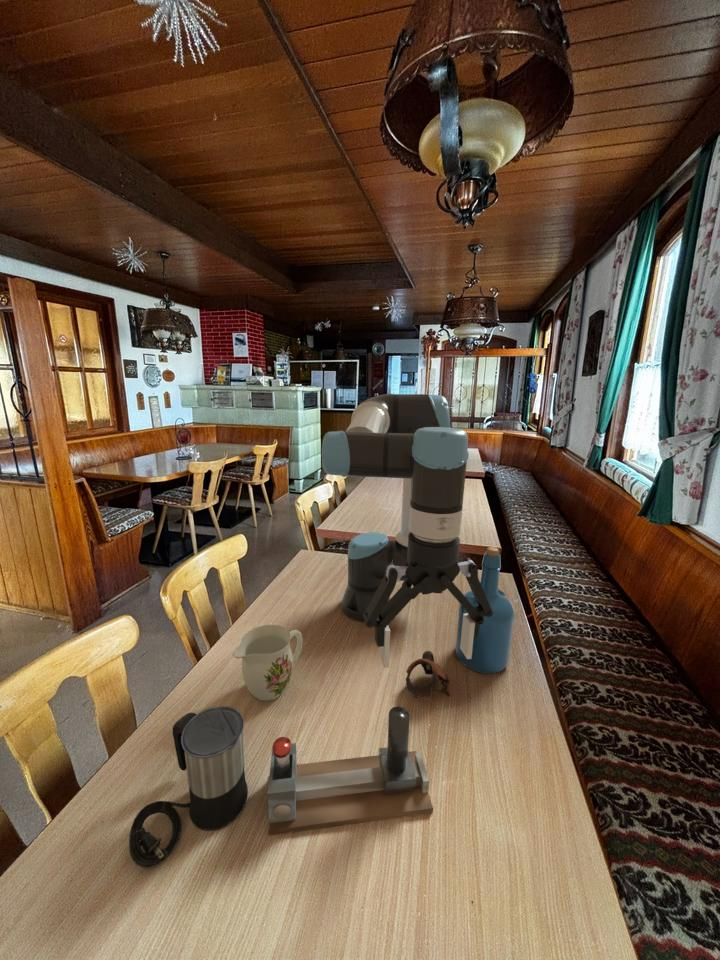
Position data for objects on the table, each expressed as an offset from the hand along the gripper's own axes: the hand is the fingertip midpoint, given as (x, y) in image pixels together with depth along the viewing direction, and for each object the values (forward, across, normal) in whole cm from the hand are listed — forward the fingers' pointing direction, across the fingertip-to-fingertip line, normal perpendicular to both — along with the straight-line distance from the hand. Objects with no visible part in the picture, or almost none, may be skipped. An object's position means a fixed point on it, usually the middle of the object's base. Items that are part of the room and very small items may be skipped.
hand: (425, 657), depth 62 cm
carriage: (+23, -4, -1) cm, 24 cm away
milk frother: (+25, -37, -1) cm, 45 cm away
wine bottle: (+25, +26, +28) cm, 45 cm away
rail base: (+25, -12, 0) cm, 28 cm away
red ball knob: (+18, -23, 0) cm, 30 cm away
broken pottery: (+25, +9, +20) cm, 33 cm away
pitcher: (+25, -26, +25) cm, 44 cm away
